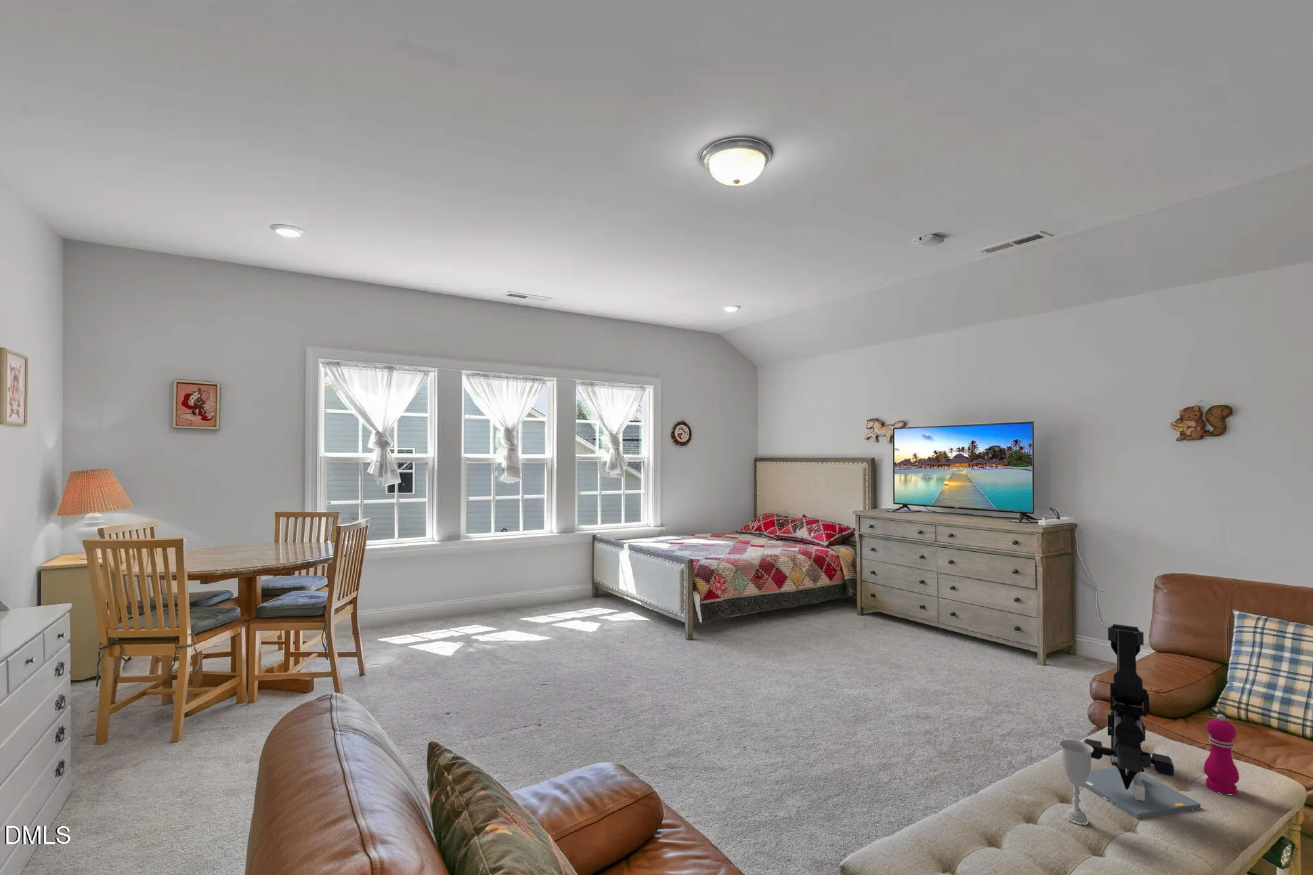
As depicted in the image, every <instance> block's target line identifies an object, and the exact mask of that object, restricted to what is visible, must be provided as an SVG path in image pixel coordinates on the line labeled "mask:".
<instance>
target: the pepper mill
mask: <svg viewBox="0 0 1313 875" xmlns="http://www.w3.org/2000/svg"><path fill="white" fill-rule="evenodd" d="M1206 731H1207V732H1208V734H1209V736H1208V741H1209V743H1210V745H1211V746H1210V753H1209V755H1208V756H1207V758H1206V760H1205V761H1204V764H1203V772H1204V774H1205V775H1206V776H1207V777H1206V778H1205V786H1206V787H1207V789H1209V790H1211V791H1212V790H1213V791H1212V792H1215V793H1217V792H1220V793H1222V794H1221V795H1224V794H1236V793H1237V794H1238V786H1237V785H1236V784H1237V783H1238V782H1239V781H1240V773H1239V771H1238V768H1237V766H1236V764H1235V762H1234V760H1233V756H1232V749H1233V748H1234V745H1235V744H1234V739H1235V738H1236V737H1237V730H1236V728H1235V726H1234V725H1233V724H1232V723H1230V722H1229V721H1227V720H1226V716H1225V715H1224V714H1217V715H1216V718H1213V719H1210V720H1208V722H1207V723H1206ZM1220 793H1219V794H1220ZM1237 794H1236V795H1237Z"/></svg>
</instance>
